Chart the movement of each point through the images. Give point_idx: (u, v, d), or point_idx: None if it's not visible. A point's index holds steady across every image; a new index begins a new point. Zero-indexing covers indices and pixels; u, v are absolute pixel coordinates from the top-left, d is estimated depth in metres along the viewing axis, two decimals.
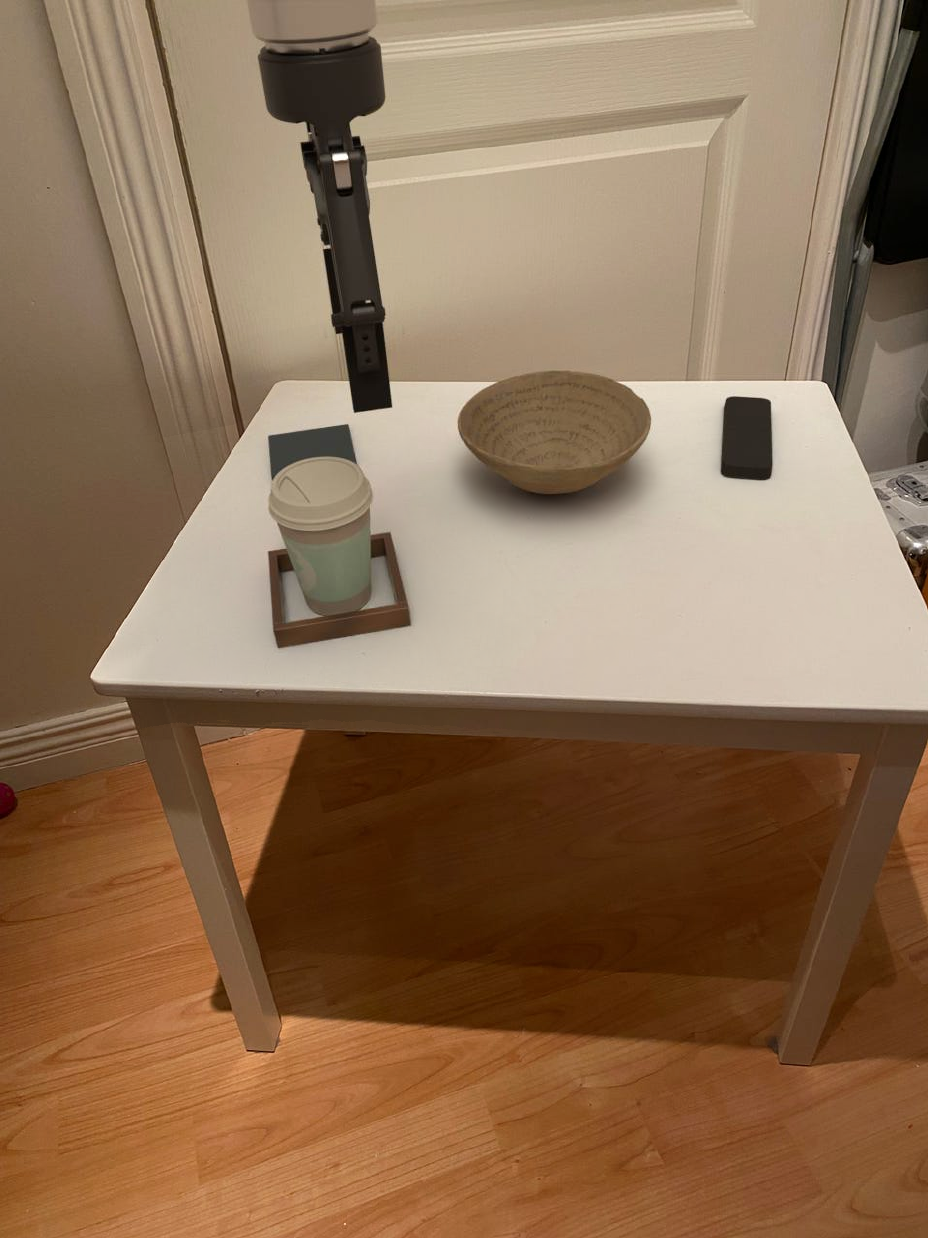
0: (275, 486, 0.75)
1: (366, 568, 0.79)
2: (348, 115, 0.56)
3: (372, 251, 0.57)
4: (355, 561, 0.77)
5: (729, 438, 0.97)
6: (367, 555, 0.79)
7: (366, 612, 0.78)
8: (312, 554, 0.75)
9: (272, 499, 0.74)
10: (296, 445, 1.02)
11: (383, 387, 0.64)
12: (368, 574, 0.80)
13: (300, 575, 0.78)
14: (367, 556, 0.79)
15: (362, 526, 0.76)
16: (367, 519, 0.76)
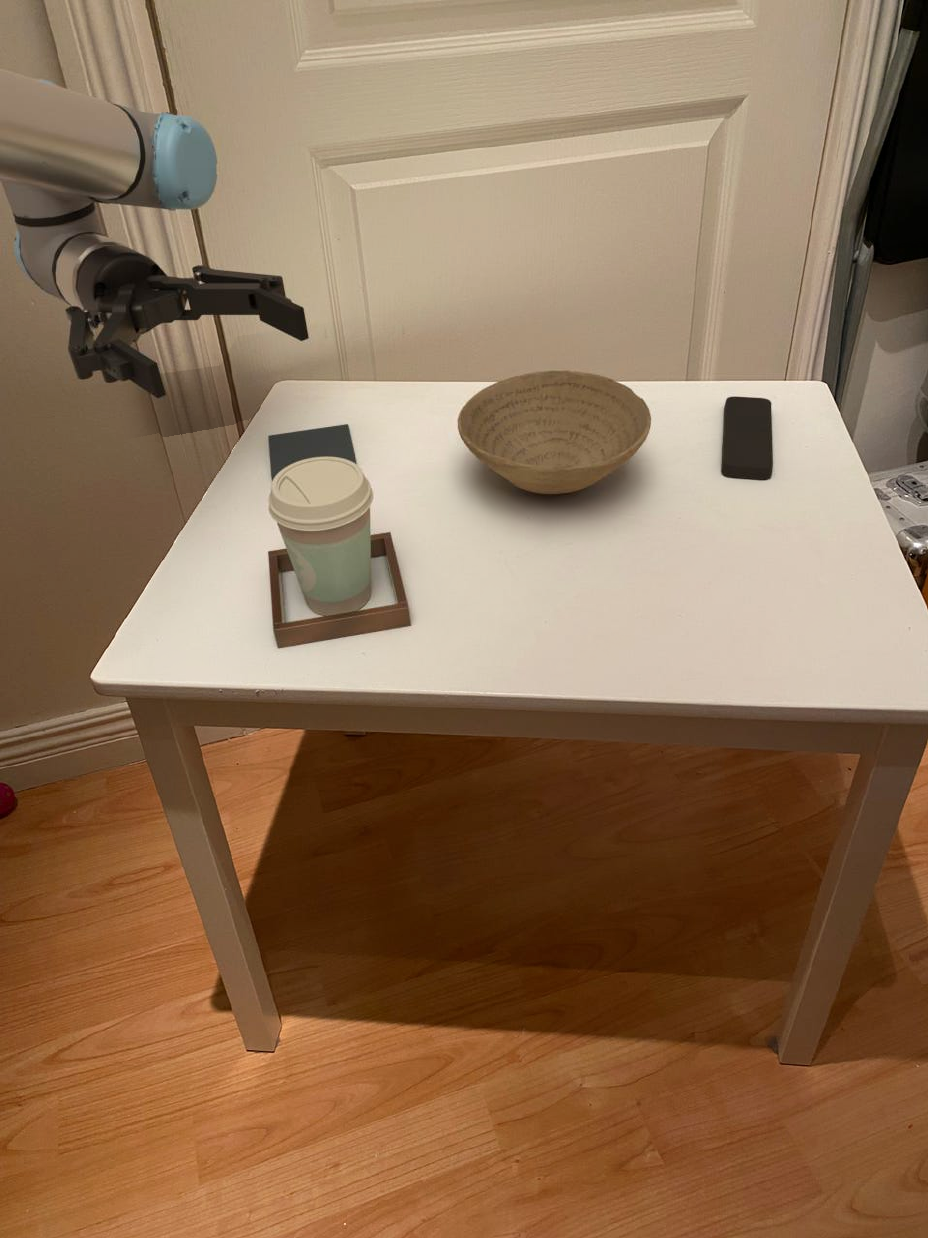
0: (275, 486, 0.75)
1: (366, 568, 0.79)
2: None
3: None
4: (355, 561, 0.77)
5: (729, 438, 0.97)
6: (367, 555, 0.79)
7: (366, 612, 0.78)
8: (312, 554, 0.75)
9: (272, 499, 0.74)
10: (296, 445, 1.02)
11: None
12: (368, 574, 0.80)
13: (300, 575, 0.78)
14: (367, 556, 0.79)
15: (363, 526, 0.76)
16: (367, 519, 0.76)
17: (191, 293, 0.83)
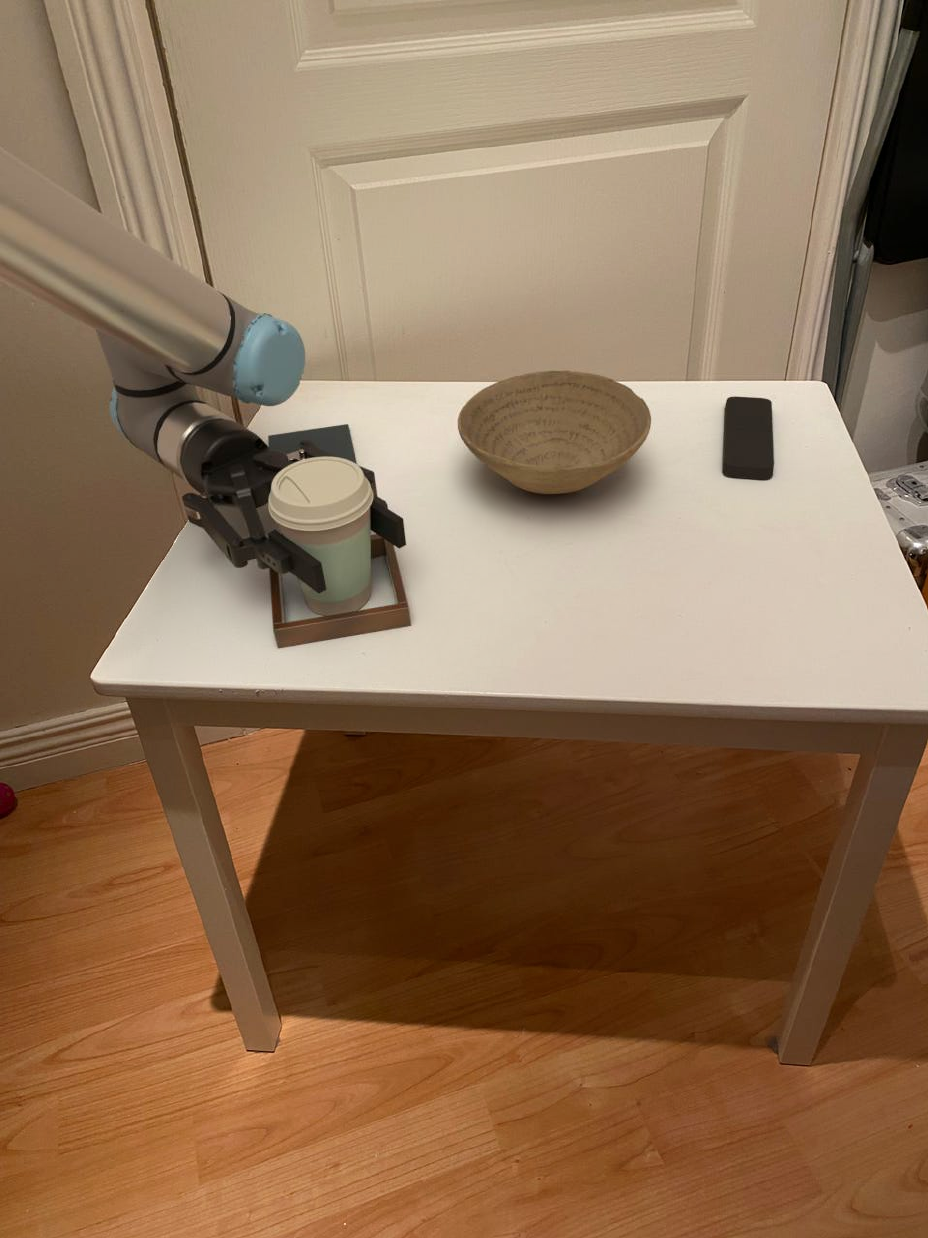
0: (275, 486, 0.75)
1: (366, 568, 0.79)
2: None
3: None
4: (355, 561, 0.77)
5: (730, 438, 0.97)
6: (367, 555, 0.79)
7: (366, 612, 0.78)
8: (312, 554, 0.75)
9: (272, 499, 0.74)
10: (296, 445, 1.02)
11: None
12: (368, 574, 0.80)
13: None
14: (367, 556, 0.79)
15: (363, 526, 0.76)
16: (367, 519, 0.76)
17: None
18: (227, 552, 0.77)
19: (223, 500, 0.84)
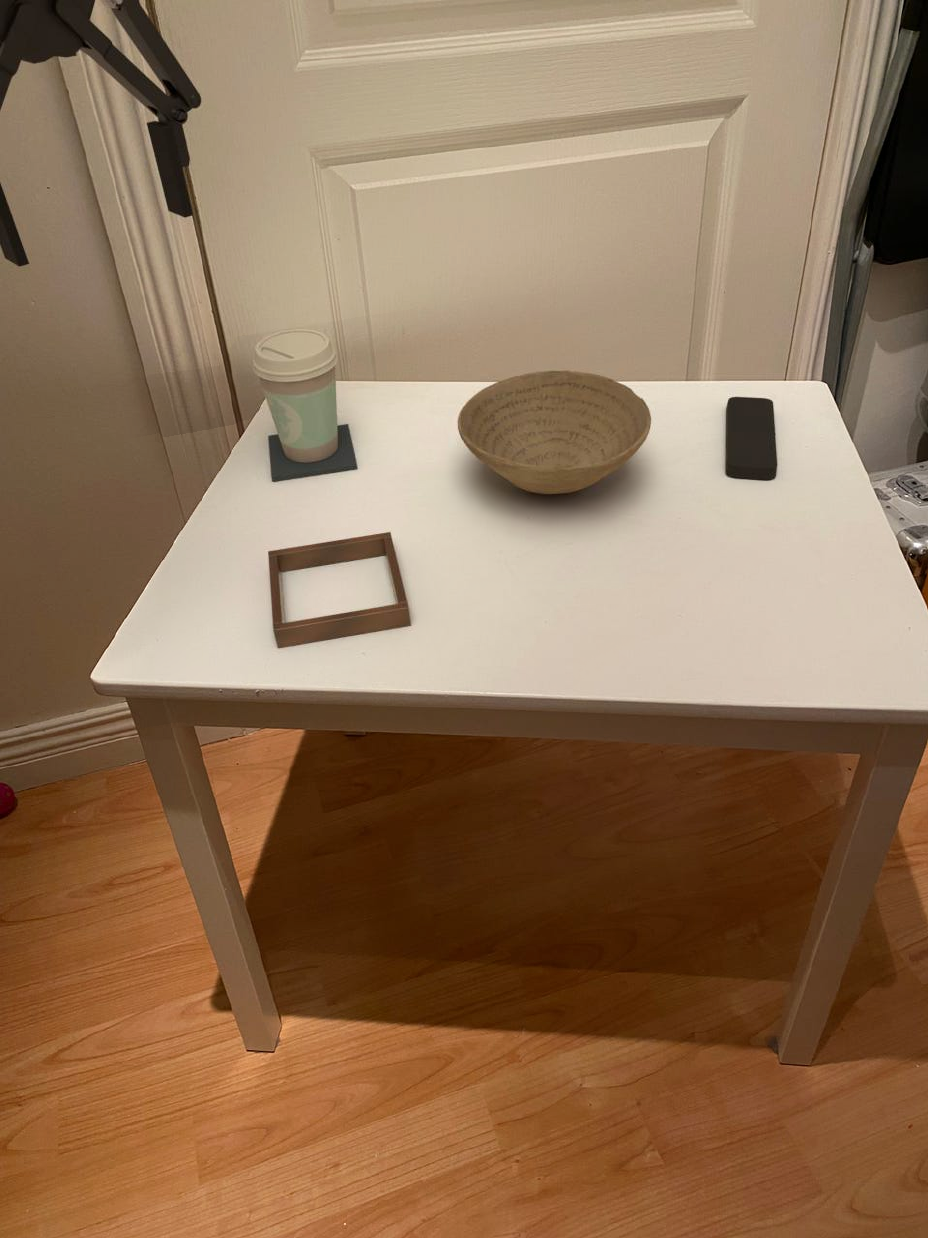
0: (260, 353, 0.92)
1: (336, 416, 0.99)
2: None
3: None
4: (331, 408, 0.97)
5: (733, 439, 0.97)
6: (336, 405, 0.98)
7: (366, 612, 0.78)
8: (300, 403, 0.94)
9: (261, 362, 0.92)
10: None
11: None
12: None
13: (286, 428, 0.96)
14: (336, 405, 0.98)
15: (334, 376, 0.95)
16: None
17: (96, 54, 0.65)
18: None
19: None
